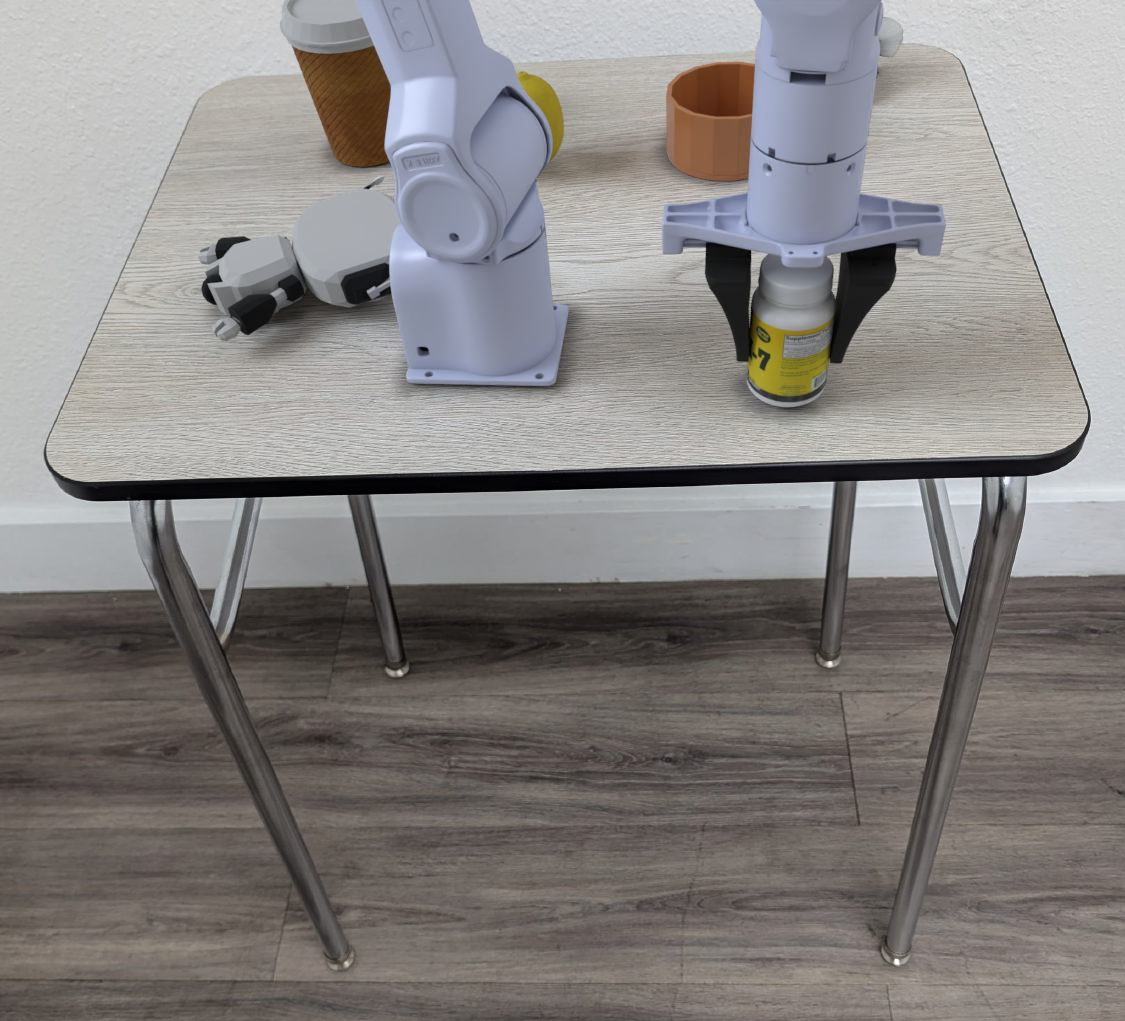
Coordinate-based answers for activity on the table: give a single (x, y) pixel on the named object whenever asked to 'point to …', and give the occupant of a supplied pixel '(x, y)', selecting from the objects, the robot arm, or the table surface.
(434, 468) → the table surface
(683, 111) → the copper cup
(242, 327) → the robot toy
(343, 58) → the disposable coffee cup
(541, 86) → the lemon
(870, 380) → the table surface
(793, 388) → the supplement bottle
